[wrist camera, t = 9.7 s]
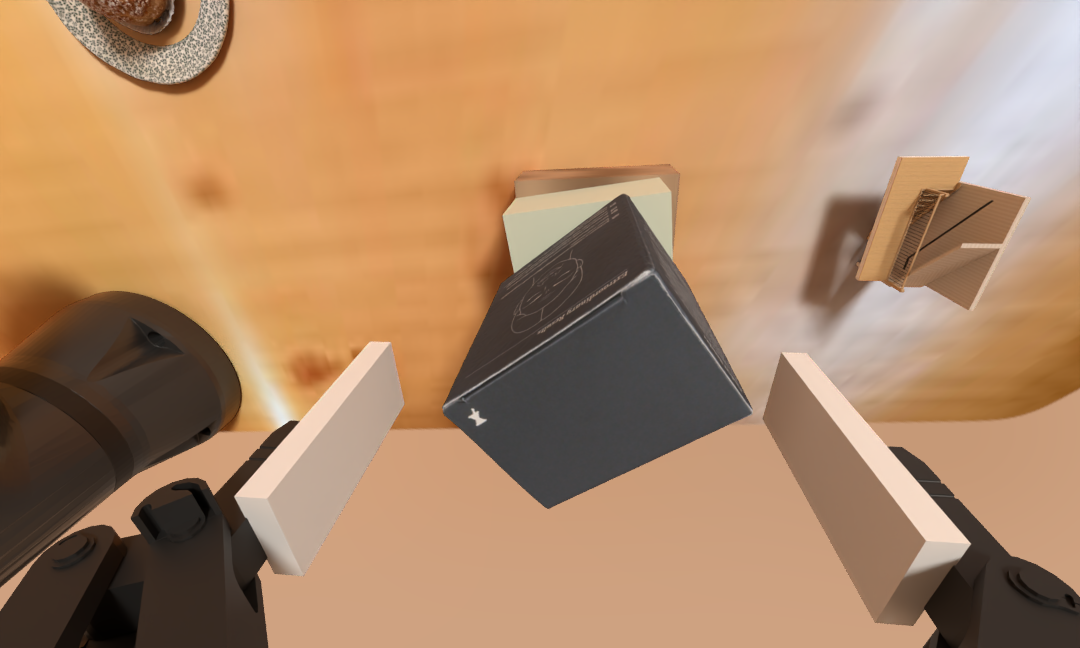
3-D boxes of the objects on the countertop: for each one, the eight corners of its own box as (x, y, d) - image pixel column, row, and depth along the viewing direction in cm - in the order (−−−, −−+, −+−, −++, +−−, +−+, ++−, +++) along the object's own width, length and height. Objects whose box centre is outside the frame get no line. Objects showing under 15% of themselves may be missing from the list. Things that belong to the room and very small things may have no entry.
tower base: (533, 297, 32) (526, 322, 28) (524, 170, 27) (514, 181, 24) (658, 296, 30) (666, 322, 27) (668, 163, 26) (680, 173, 23)
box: (564, 356, 24) (545, 516, 15) (499, 281, 22) (431, 408, 13) (689, 280, 21) (762, 420, 12) (626, 187, 20) (653, 266, 10)
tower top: (538, 321, 28) (530, 353, 24) (515, 198, 24) (502, 215, 21) (663, 309, 27) (674, 342, 23) (659, 177, 23) (671, 191, 19)
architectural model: (826, 261, 28) (897, 312, 22) (862, 149, 25) (957, 168, 18) (882, 263, 28) (971, 314, 21) (925, 148, 24) (1046, 167, 18)
